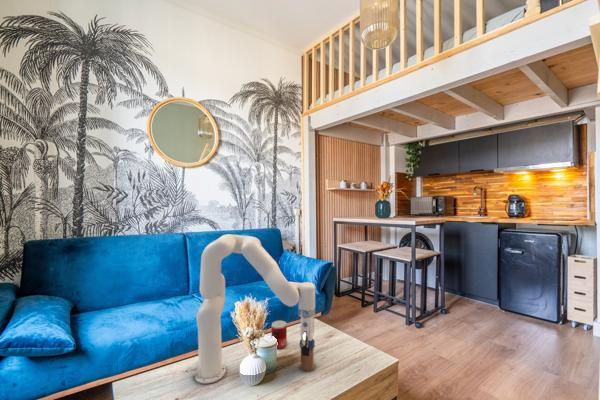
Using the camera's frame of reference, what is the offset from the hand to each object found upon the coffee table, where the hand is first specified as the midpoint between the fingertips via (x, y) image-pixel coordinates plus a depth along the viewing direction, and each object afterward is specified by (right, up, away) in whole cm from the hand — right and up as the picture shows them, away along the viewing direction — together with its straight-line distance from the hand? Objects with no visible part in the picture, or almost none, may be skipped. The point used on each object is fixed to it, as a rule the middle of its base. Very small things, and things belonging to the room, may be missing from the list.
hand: (307, 349), depth 124 cm
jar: (0, -8, 0) cm, 8 cm away
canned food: (-14, -8, +19) cm, 25 cm away
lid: (0, +3, 0) cm, 3 cm away
